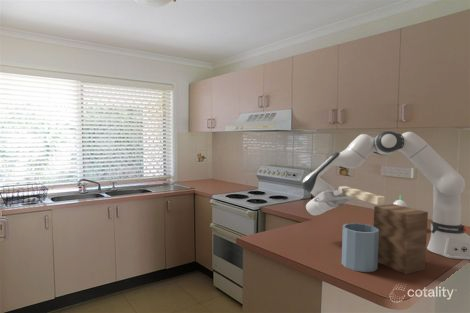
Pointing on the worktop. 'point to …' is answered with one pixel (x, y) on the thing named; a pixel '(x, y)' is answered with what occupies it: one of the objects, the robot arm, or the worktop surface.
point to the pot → (360, 247)
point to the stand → (401, 237)
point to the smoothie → (400, 202)
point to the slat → (363, 195)
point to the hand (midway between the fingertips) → (347, 190)
